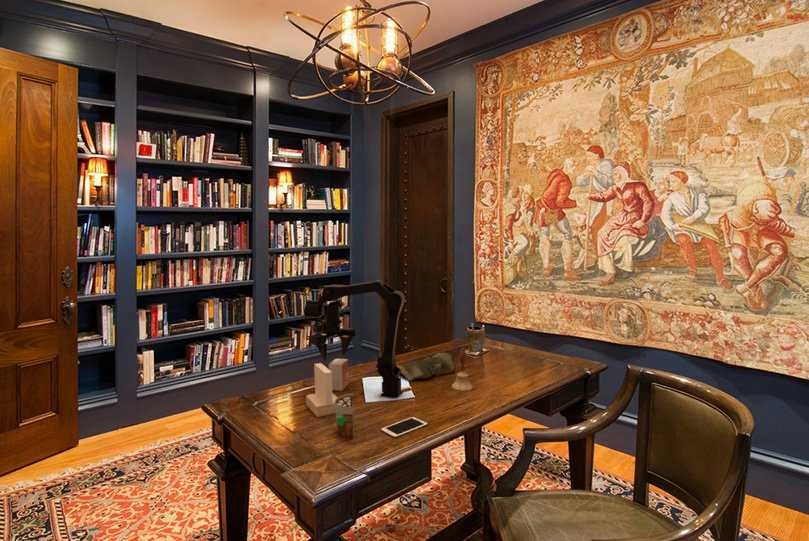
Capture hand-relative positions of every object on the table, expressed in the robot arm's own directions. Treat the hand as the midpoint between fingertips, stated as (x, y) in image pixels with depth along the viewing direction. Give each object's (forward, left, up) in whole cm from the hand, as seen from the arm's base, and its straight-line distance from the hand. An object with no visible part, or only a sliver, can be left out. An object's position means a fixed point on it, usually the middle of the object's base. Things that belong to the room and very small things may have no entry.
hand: (334, 357), depth 178 cm
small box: (+1, -5, -14) cm, 14 cm away
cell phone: (-37, +20, -14) cm, 45 cm away
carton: (-5, +16, -13) cm, 21 cm away
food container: (-20, +29, -14) cm, 38 cm away
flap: (-5, +16, -10) cm, 20 cm away
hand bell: (-45, -22, -14) cm, 52 cm away
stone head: (-25, -35, -14) cm, 45 cm away
